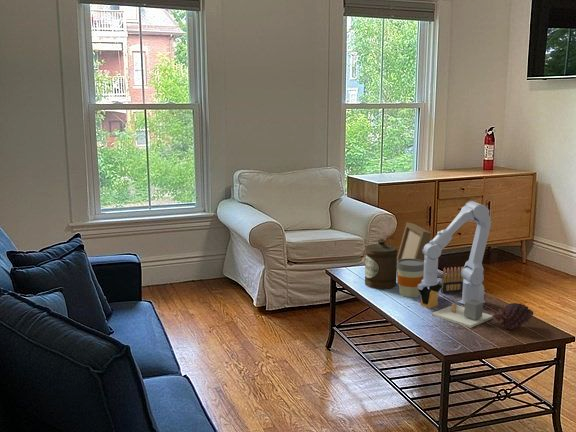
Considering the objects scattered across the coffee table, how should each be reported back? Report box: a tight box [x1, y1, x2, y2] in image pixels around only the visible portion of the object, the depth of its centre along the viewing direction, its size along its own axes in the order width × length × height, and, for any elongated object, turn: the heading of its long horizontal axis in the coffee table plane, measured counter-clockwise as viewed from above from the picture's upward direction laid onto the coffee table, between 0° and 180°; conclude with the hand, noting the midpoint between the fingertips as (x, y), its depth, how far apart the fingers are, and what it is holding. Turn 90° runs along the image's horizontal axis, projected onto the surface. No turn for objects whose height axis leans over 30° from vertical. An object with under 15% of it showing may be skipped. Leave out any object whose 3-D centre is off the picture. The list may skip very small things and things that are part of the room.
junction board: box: [431, 300, 494, 329], centre depth 247 cm, size 16×18×8 cm
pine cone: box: [492, 302, 534, 330], centre depth 235 cm, size 18×10×10 cm, turn 110°
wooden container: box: [364, 238, 398, 290], centre depth 288 cm, size 15×15×22 cm
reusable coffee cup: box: [396, 258, 424, 298], centre depth 275 cm, size 13×13×15 cm
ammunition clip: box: [440, 266, 464, 295], centre depth 278 cm, size 11×2×12 cm, turn 104°
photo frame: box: [397, 221, 433, 274], centre depth 302 cm, size 15×22×25 cm
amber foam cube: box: [420, 290, 439, 309], centre depth 261 cm, size 5×5×6 cm
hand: (429, 302), depth 261 cm, fingers closed on amber foam cube, 5 cm apart
